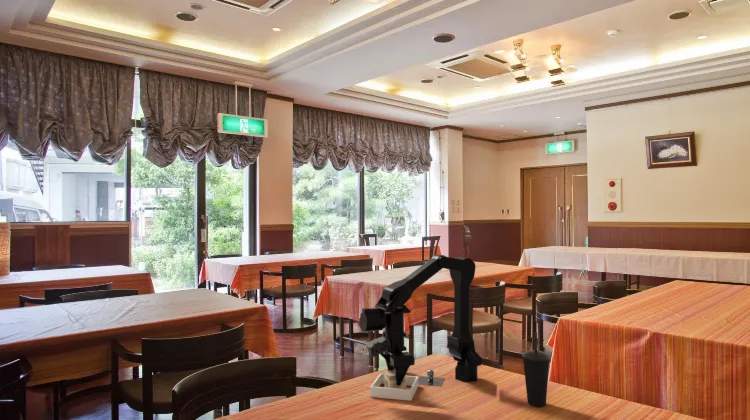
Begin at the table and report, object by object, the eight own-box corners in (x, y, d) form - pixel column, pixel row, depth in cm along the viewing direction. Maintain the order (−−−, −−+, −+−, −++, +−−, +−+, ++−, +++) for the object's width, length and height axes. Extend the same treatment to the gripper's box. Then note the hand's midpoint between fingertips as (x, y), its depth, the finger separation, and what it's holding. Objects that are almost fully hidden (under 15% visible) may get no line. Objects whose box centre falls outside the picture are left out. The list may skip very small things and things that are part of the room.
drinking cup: (516, 401, 135) (515, 330, 136) (537, 397, 138) (536, 328, 139) (535, 411, 128) (534, 336, 129) (557, 406, 131) (556, 334, 132)
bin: (418, 389, 145) (418, 376, 145) (411, 404, 134) (411, 390, 134) (380, 386, 148) (380, 373, 148) (370, 400, 137) (370, 386, 137)
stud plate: (445, 381, 152) (444, 367, 152) (441, 390, 144) (441, 375, 144) (420, 379, 154) (420, 365, 154) (415, 388, 146) (415, 373, 146)
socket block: (400, 389, 144) (400, 369, 144) (405, 395, 139) (405, 374, 139) (384, 391, 143) (384, 370, 143) (389, 397, 138) (389, 376, 138)
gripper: (360, 323, 148) (361, 374, 148) (376, 338, 130) (377, 395, 130) (395, 321, 151) (395, 370, 151) (415, 335, 133) (415, 391, 133)
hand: (395, 381), depth 141 cm, fingers open, 7 cm apart
